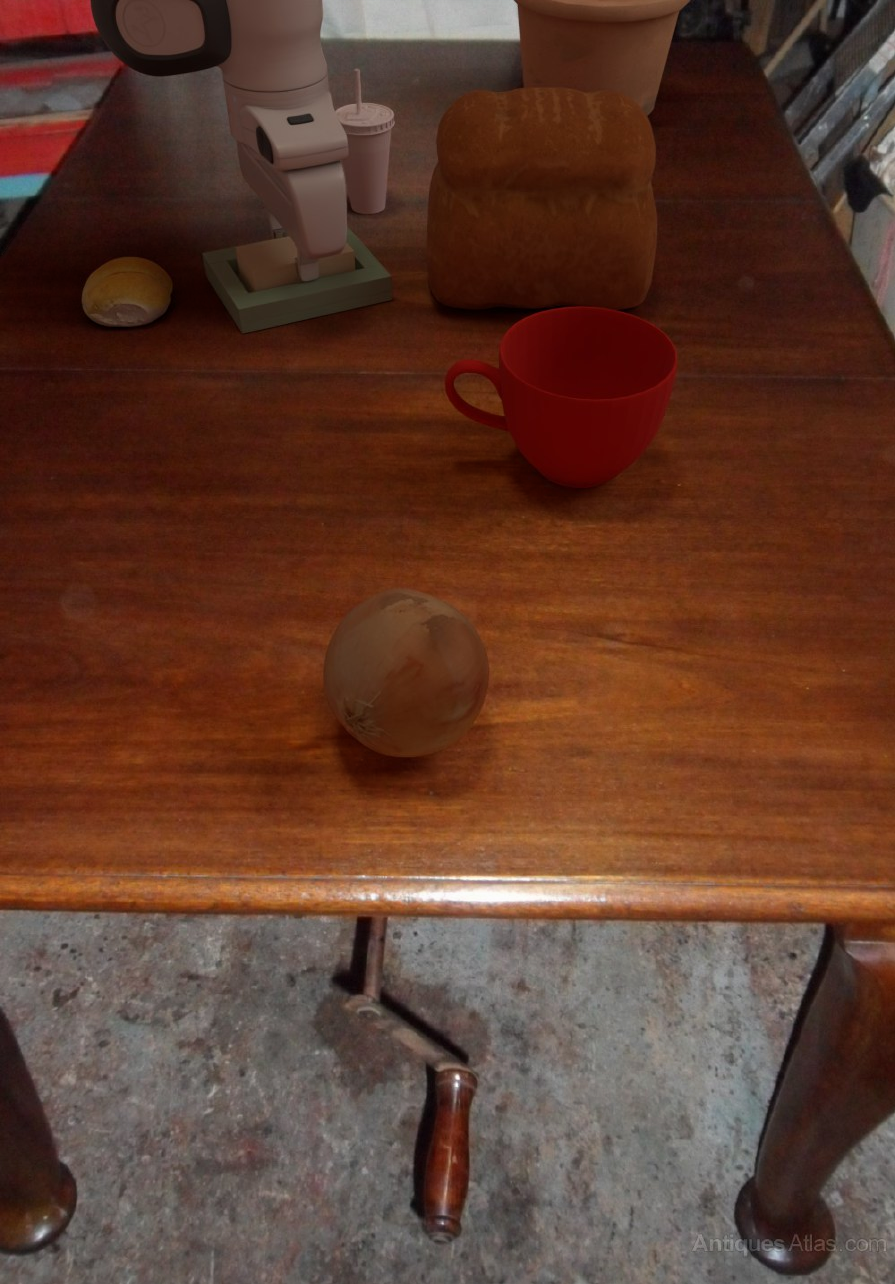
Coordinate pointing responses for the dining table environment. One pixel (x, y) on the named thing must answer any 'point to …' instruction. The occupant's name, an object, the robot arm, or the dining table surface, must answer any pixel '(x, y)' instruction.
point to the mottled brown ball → (406, 673)
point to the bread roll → (127, 293)
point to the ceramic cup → (577, 391)
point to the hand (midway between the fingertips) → (296, 262)
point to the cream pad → (283, 263)
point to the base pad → (297, 290)
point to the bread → (542, 201)
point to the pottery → (597, 45)
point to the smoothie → (366, 151)
